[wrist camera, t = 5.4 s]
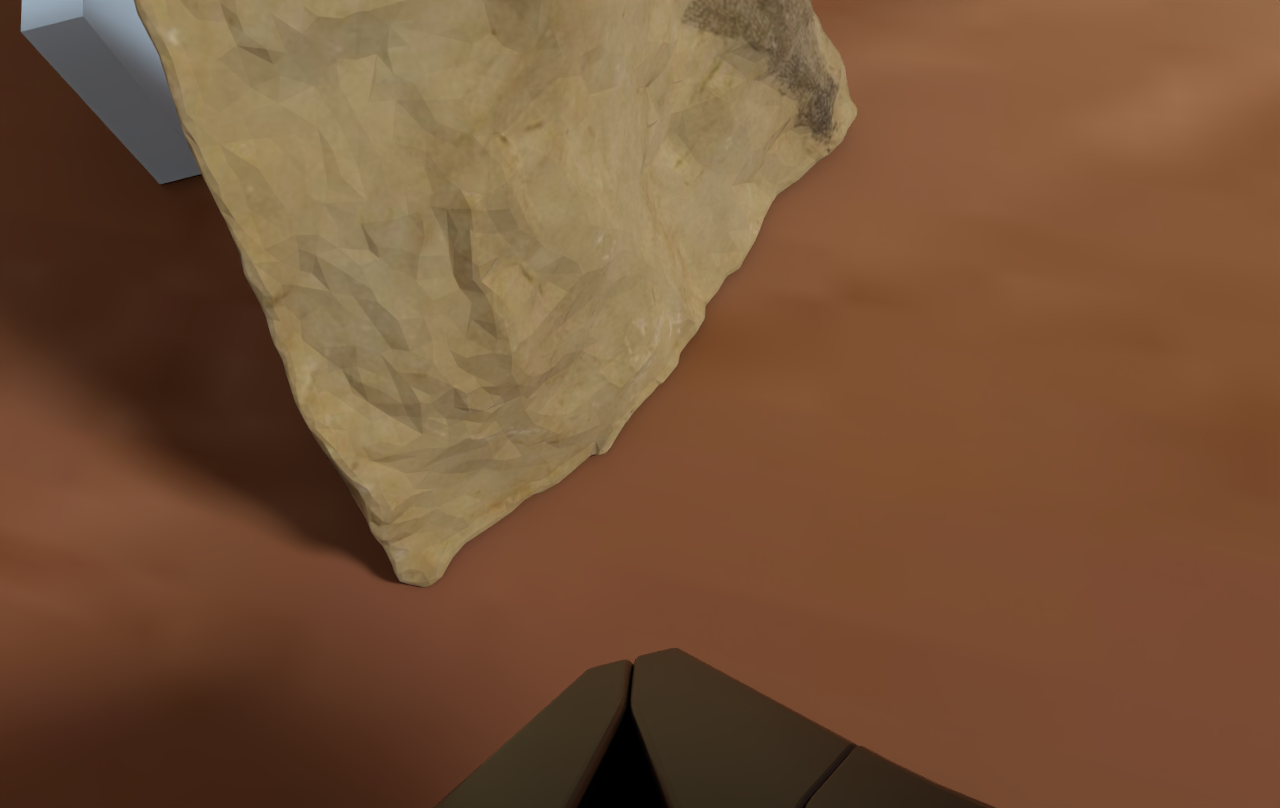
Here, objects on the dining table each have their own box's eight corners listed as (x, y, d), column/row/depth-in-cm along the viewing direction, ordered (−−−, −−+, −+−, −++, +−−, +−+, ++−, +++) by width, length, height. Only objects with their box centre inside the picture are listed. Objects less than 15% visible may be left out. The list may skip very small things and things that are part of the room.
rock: (789, -164, 18) (219, -81, 17) (1072, -479, 10) (-14, -363, 8) (867, 412, 20) (377, 525, 19) (1148, 554, 12) (315, 771, 11)
